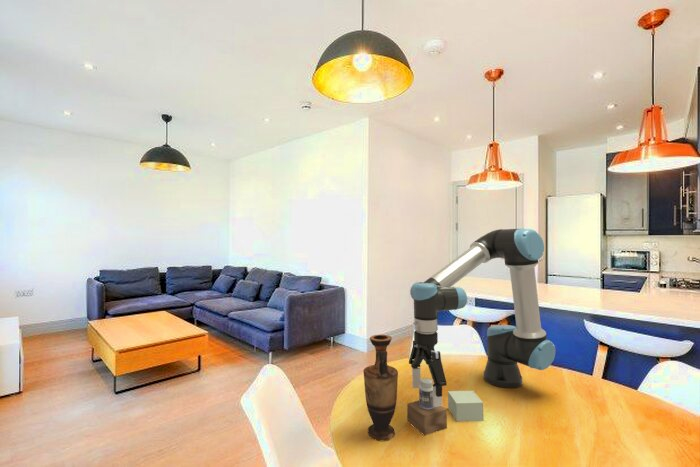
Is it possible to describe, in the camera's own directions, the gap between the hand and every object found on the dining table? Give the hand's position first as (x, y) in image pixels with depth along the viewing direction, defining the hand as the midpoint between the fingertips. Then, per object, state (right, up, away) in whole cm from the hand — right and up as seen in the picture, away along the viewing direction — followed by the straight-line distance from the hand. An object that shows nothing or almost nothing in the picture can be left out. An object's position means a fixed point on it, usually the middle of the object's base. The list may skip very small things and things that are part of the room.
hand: (426, 396), depth 112 cm
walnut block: (0, -9, 0) cm, 9 cm away
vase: (-15, -10, -5) cm, 19 cm away
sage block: (+15, -9, +6) cm, 19 cm away
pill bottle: (0, -4, 0) cm, 4 cm away
